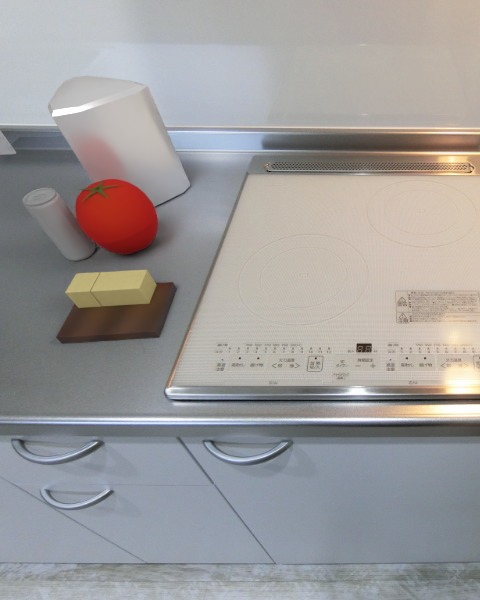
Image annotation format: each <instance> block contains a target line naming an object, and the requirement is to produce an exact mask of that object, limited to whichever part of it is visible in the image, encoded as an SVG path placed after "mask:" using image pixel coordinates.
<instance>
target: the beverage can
mask: <svg viewBox="0 0 480 600" xmlns="http://www.w3.org/2000/svg"><path fill="white" fill-rule="evenodd" d="M21 201H22V203H23V205H24V207H25V208H26V210H27V211H28V212H29V214H30V215H31V216H32V217H33V218H34V220H35V221H36V223H38V225H39V226H40V227H41V229H42V230H43V231H44V232H45V233H46V235H47V236H48V238H50V240H51V241H52V242H53V244H54V245H55V246H56V247H57V249H58V250H59V251H60V252H61V254H62V255H63V256H64V257H65V258H66V259H67V260H69V261H74V262H78V261H83V260H86V259H88V258H90V257H91V256H93V254H94V252H95V250H96V245H95V244H96V243H95V242H94V241H93V240H91V239H90V238H89V237H88V236H87V235H86V234H85V233H84V231H83V230H82V229H81V227H80V225H79V223H78V221H77V219H76V215H74V213H73V212H72V210H71V209H70V208H69V206H68V205H67V204H66V202H65V200H64V199H63V197H62V196H61V195H60V194H59V193H58V192H57V191H56V189H54V188H52V187H41V188H37V189H34V190H32V191H30V192H28V193H27V194H25V195H24V196H23V197H22V200H21Z"/></svg>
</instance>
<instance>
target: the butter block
mask: <svg viewBox="0 0 480 600" xmlns="http://www.w3.org/2000/svg"><path fill="white" fill-rule="evenodd" d="M156 283H157V282H156V281H155V280H154V278H153V276H152V275H151V273H150V272H149V269H134V270H132V269H131V270H114V271H100V275H99V276H98V278H97V280H96V282H95V284H94V286H93V288H92V290H91V292H92V294H93V295H94V296H95V297H96V299H97V300H98V301H99V302H100V304H101V305H102V306H118V305H135V304H149V303H150V301H151V298H152V296H153V293H154V291H155V288H156V286H157V284H156Z"/></svg>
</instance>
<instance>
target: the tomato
mask: <svg viewBox="0 0 480 600" xmlns="http://www.w3.org/2000/svg"><path fill="white" fill-rule="evenodd" d="M78 190H79V191H80V193H79V194H78V195H77V197H76V199H75V205H74V210H75V217H76V219H77V221H78V223H79V225H80V227H81V229H82V230H83V231H84V233H85V234H86V235H87V236H88V237H89V238H90V239H91V240H92V241H93V243H94V244H96V245H98V246H99V247H101V248H103V249H104V250H106V251H108V252H111V253H114V254H118V255H130V254H131V255H132V254H133V253H137V252H140V251H142V250H144V249H146V248H148V247H149V246H150V245H152V243H153V242H154V239H155V238H156V236H157V232H158V229H159V217H158V213H157V209H156V206H154V205H153V204H152V202H151V200H150V199H149V198H148V197H147V195H146V194H145V193H144V192H143V191H142V190H140V189H139V188H138V187H137V186H135V185H133V184H131V183H129V182H127V181H123V180H119V179H106V180H102V181H99V182H96V183H93V182H92V183H91V184H89V185H88V186H86V187H84V188H81V189H80V188H79V189H78Z"/></svg>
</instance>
